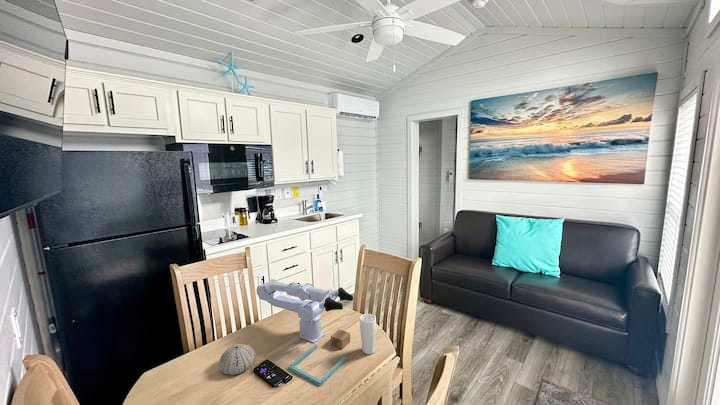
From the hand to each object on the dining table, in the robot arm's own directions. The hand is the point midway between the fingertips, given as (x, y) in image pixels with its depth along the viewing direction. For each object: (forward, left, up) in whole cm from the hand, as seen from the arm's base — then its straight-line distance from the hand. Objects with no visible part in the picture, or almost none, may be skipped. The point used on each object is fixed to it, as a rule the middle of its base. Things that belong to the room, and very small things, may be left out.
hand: (347, 302), depth 121 cm
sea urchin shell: (-32, -31, -22) cm, 50 cm away
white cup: (+8, +3, -22) cm, 23 cm away
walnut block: (-5, +1, -22) cm, 22 cm away
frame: (-5, -14, -21) cm, 26 cm away
